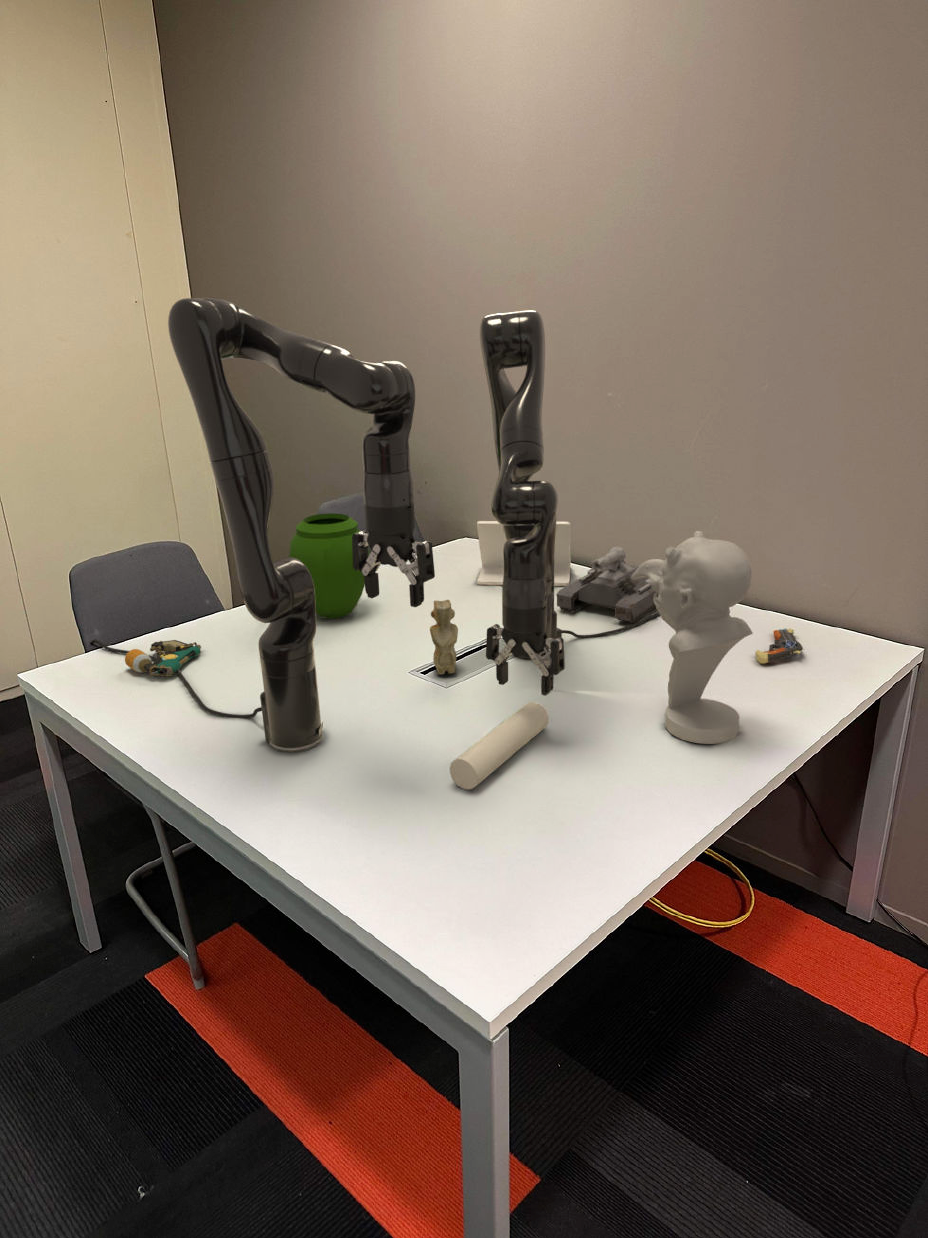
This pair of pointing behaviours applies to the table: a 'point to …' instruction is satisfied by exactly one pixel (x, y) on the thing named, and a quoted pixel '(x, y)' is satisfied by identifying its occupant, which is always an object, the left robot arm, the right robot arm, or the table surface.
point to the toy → (610, 589)
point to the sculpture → (444, 637)
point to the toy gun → (780, 646)
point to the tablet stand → (493, 553)
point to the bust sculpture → (699, 629)
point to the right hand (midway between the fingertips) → (524, 688)
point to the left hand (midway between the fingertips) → (394, 601)
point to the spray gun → (162, 657)
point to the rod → (498, 745)
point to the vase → (329, 562)
